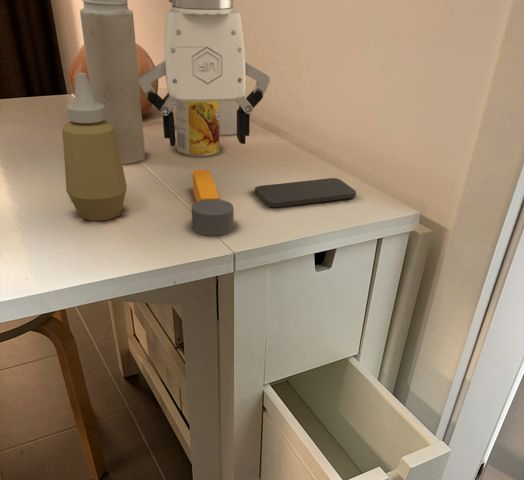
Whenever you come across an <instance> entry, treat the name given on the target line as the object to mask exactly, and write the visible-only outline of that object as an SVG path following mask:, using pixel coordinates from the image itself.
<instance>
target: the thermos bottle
mask: <svg viewBox="0 0 524 480" xmlns="http://www.w3.org/2000/svg"><path fill="white" fill-rule="evenodd" d="M81 1H82V2H83V8H81V9H80V10H79V16H80V23H81V30H82V39H83V45H84V47H85V54H86V61H87V69H88V76H89V84H90V87H91V90H92V93H93V96H94V99H95V102H98V103H102V104H103V105H104V106H105V114H106V119H105V120H106V121H108V122H110V123H111V124H112V125H113V126H114V128H115V133H116V138H117V142H118V147H119V152H120V157H121V161H122V165H125V164H127V165H128V164H134V163H137V162H138V163H139V162H141V161H143V160H144V159H145V157H146V149H145V148H146V147H145V137H144V125H143V119H142V115H141V104H140V89H139V83H138V66H137V54H136V43H137V42H136V31H135V20H134V12H133V10H131V9H130V8H129V5H128V1H129V0H81Z"/></svg>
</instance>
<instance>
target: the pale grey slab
mask: <svg viewBox="0 0 524 480" xmlns="http://www.w3.org/2000/svg"><path fill="white" fill-rule="evenodd" d="M238 109H239V104H238V103H237V102H236V100H234V101H219V136H231V135H232V136H233V135H237V110H238Z"/></svg>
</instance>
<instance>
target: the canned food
mask: <svg viewBox="0 0 524 480" xmlns="http://www.w3.org/2000/svg"><path fill="white" fill-rule="evenodd" d="M174 107H175V109H174V110H175V131H176V145H177V146H176V147H177V148H176V149H177V151H178V152H179V153H180V154H183V155H185V156H191V157H208V156H213V155H216V154H218V153H219V152H220V147H221V145H220V135H219V101H205V102H181V101H178V102H177V103H176V105H175V106H174Z"/></svg>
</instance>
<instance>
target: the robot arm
mask: <svg viewBox="0 0 524 480" xmlns="http://www.w3.org/2000/svg"><path fill="white" fill-rule="evenodd" d="M168 2H169V3H170V4H171V8H170V9H167V10H166V14H165V21H164V22H165V23H164V61H162V62H160V63H158V64H157V65H155V67H154V68H152V69H150V70H149V71H147V72H145V73H144V74H142V75H140V76H139V77H138V83H139V85H140V87H141V88H142V90H143V92H144V93H145V95H146V97H147V98H148V100H149V102H150V103H151V104H153V105H152V106H153V107H154V108H155V109H156V110H157V111H159V112H160V114H161V115H162V126H163V127H162V128H163V138H164V139H168V141H169V145H170V147H175V146H176V145H177V138H176V123H175V115H174V112H173V110H174V107H175V105H176V103H177V102H178V101H181V102H205V101H234V100H236V102H237V103H238V104H239V109H238V110H237V134H236V139H237V141H238V143H239V144H241V145H246V137H250V126H251V125H250V123H251V122H250V120H251V119H250V118H251V117H250V115H251V113H252V112H253V109H255V107H256V106H257V105H258V104H259V103H260V102H261V100H263V98H264V94H265V93H266V91H267V89H268V86H269V85H270V82H271V77H270V75H268V74H267V73H265V72H263V71H261V70H260V69H258V68H256V67H255V66H253V65H251V64H250V63H247V62H246V55H245V54H246V53H245V41H244V30H243V22H242V17H241V16H242V15H241V12H240V11H238V10H234V0H168ZM164 76H165V84H166V89H167V93H166V94H165V96H163V98H162V97H161V96H160V95H159V94H158V92H157V93H156V92H155V91H154V89H153V87H152V86H151V84H152V83H153V82H154V81H156V80H157V79H158V80H159V79H161V78H163V77H164ZM247 77H249V78H251V79H253V80H254V81H256V84H255V87H254V89H252V90H251V92H250V93H249V94H248V95H247V96H245V95H246V90H247V89H246V88H247V85H246V83H247V80H246V78H247Z"/></svg>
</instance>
